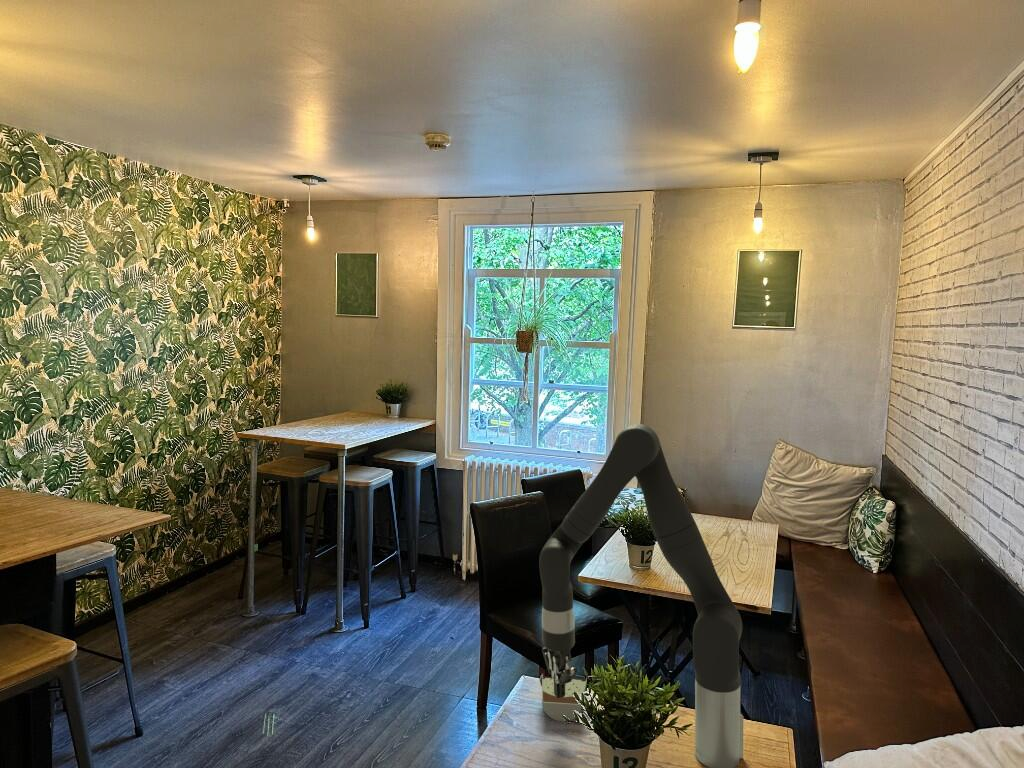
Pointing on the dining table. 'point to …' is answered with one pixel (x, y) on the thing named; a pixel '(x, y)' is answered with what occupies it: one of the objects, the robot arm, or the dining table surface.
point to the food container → (564, 704)
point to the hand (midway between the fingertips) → (559, 695)
